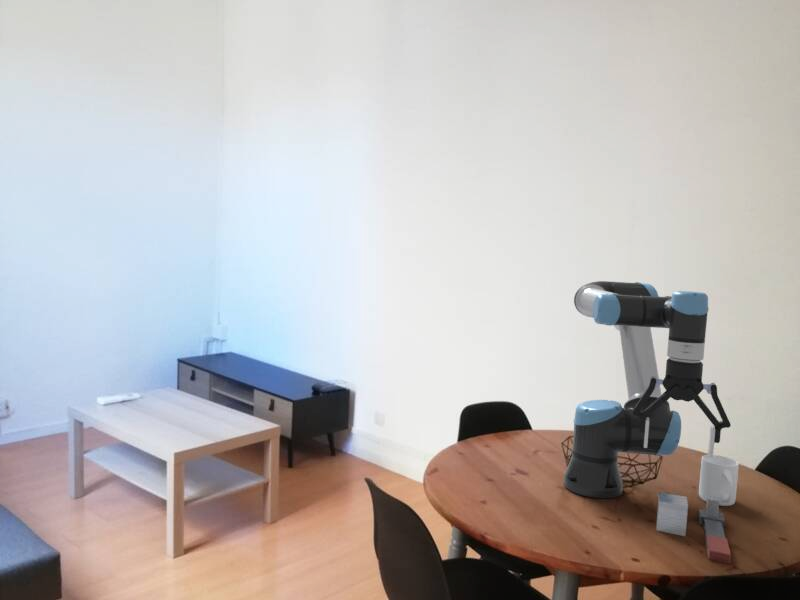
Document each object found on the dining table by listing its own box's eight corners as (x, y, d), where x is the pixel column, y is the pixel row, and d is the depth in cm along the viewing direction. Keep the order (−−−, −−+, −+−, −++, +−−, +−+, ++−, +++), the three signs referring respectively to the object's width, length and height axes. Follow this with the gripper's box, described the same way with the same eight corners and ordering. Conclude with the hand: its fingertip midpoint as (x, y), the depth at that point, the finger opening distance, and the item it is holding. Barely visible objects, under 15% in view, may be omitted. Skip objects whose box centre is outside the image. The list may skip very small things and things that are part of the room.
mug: (711, 510, 153) (714, 469, 152) (693, 492, 165) (696, 453, 164) (747, 513, 152) (751, 471, 151) (726, 494, 164) (730, 455, 163)
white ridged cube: (656, 530, 140) (659, 501, 140) (656, 520, 146) (658, 491, 145) (685, 536, 138) (687, 506, 138) (684, 525, 144) (686, 496, 143)
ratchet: (732, 564, 126) (735, 536, 126) (705, 558, 128) (708, 531, 128) (721, 520, 147) (724, 496, 147) (698, 516, 149) (700, 492, 149)
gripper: (625, 356, 140) (618, 446, 142) (749, 368, 131) (741, 465, 132) (627, 351, 147) (620, 438, 149) (745, 363, 138) (736, 455, 139)
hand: (677, 451), depth 140 cm, fingers open, 13 cm apart
